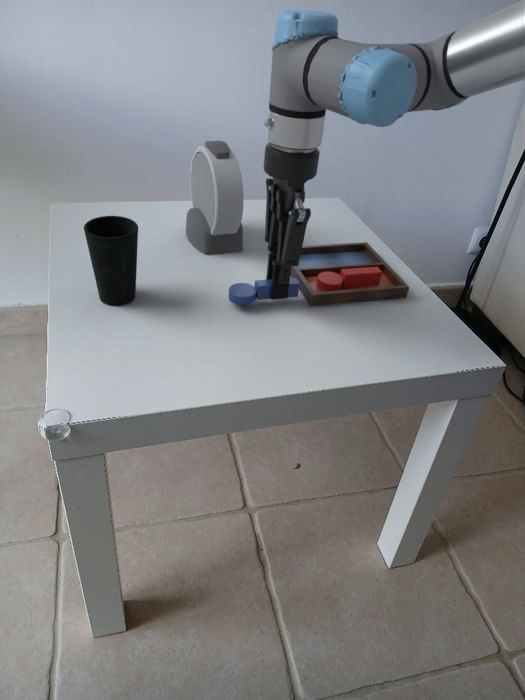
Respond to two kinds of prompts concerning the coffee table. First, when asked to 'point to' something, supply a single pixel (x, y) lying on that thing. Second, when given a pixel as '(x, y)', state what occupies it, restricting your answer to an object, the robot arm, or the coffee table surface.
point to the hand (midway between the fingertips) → (276, 293)
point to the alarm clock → (215, 200)
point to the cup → (113, 257)
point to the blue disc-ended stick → (258, 291)
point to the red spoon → (349, 278)
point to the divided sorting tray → (334, 260)
